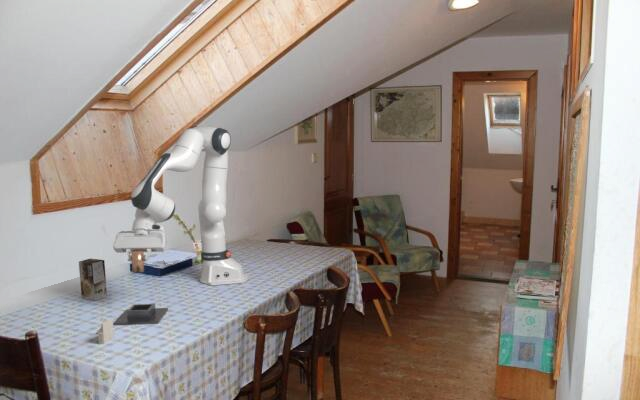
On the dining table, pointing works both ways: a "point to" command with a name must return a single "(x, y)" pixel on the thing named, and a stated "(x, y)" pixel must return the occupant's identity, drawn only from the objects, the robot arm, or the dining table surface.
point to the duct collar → (141, 315)
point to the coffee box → (93, 279)
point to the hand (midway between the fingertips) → (137, 260)
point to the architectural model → (106, 331)
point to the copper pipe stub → (137, 261)
